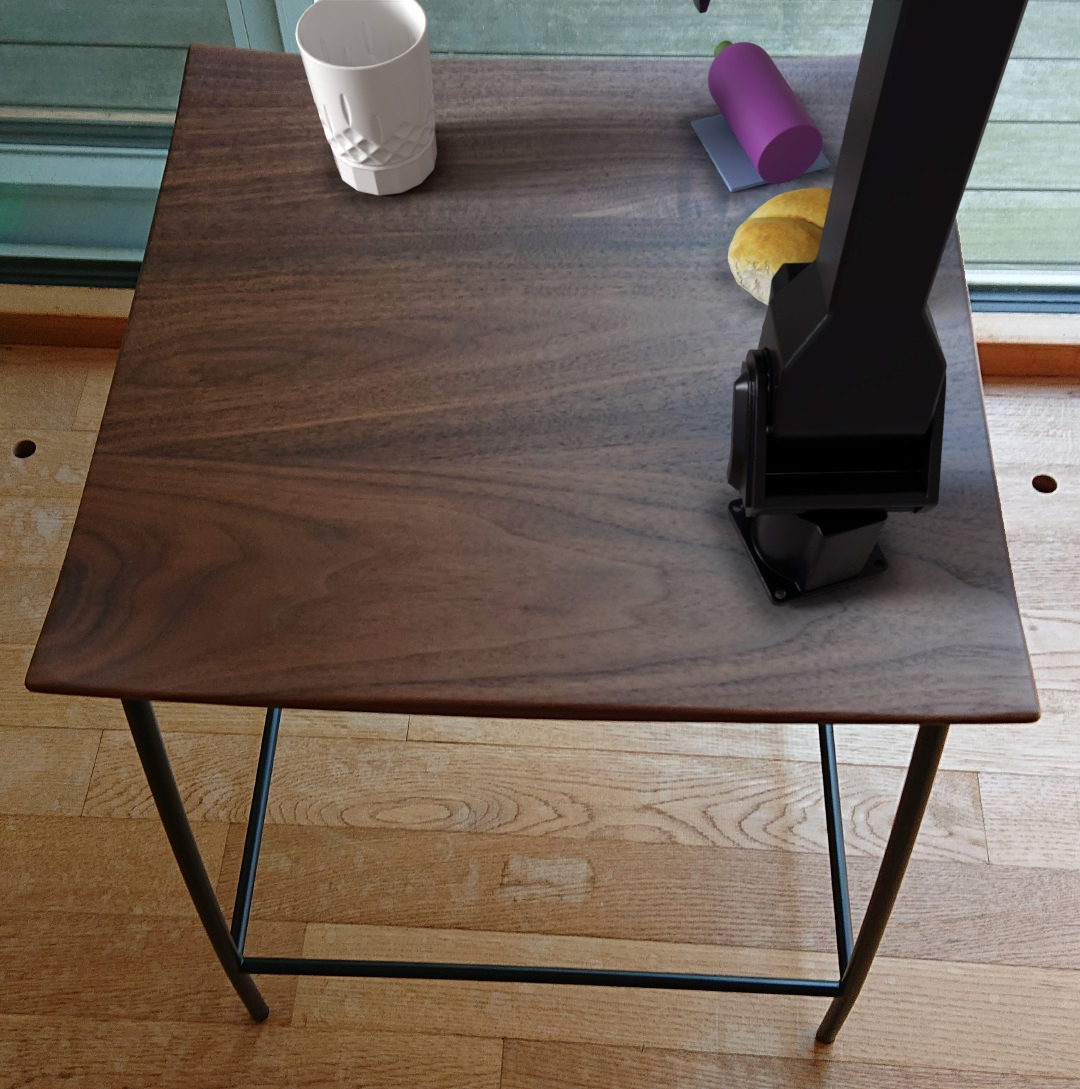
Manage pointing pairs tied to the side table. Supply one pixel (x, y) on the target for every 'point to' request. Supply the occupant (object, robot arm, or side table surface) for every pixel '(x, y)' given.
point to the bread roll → (778, 238)
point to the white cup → (372, 89)
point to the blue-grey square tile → (734, 154)
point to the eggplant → (763, 112)
